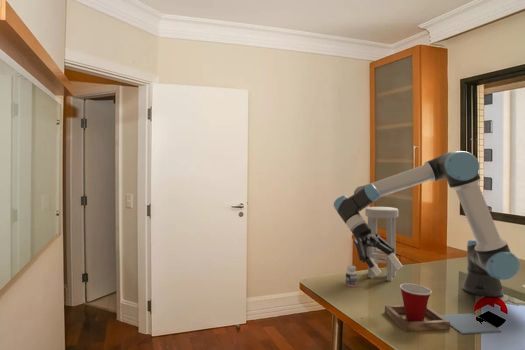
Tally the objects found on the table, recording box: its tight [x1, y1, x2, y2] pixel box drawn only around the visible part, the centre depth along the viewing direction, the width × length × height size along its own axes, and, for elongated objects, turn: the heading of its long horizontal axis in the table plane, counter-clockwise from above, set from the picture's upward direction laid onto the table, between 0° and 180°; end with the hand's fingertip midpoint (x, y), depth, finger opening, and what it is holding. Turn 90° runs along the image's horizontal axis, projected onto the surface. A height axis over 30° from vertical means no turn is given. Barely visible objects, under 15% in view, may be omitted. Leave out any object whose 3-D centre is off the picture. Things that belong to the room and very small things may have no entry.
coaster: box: [440, 312, 502, 335], centre depth 124 cm, size 14×14×1 cm
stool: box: [364, 206, 399, 282], centre depth 179 cm, size 16×16×35 cm
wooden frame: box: [384, 304, 451, 332], centre depth 127 cm, size 16×16×2 cm
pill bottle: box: [345, 265, 358, 288], centre depth 166 cm, size 5×5×9 cm
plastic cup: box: [399, 283, 433, 322], centre depth 127 cm, size 11×11×12 cm
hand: (390, 271), depth 136 cm, fingers open, 13 cm apart
